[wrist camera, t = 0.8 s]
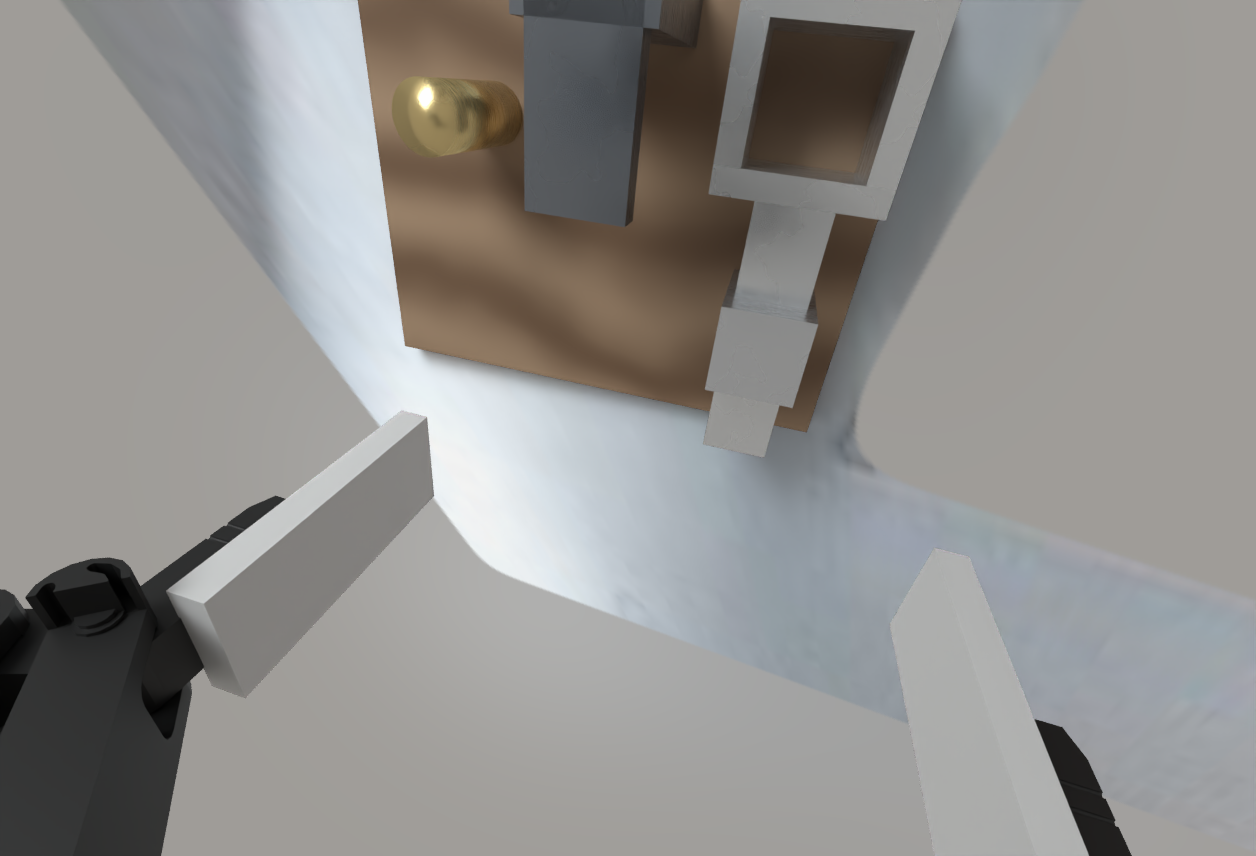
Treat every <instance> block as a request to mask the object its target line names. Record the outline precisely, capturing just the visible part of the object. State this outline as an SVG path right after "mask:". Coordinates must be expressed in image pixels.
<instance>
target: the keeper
mask: <svg viewBox="0 0 1256 856" xmlns="http://www.w3.org/2000/svg"><path fill="white" fill-rule="evenodd" d="M702 5H703V0H509V14H511V15H515V16H518V17H522V18H524V204H525V211H529V212H535V213H541V214H547V215H553V216H559V217H565V218H572V219H578V220H584V221H590V222H596V223H602V224H608V225H614V226H620V227H626V226H627V225H628V224H630V223H631V222H632V221H633V213H634V203H635V193H636V183H637V172H638V162H639V152H640V142H641V132H642V122H643V112H644V102H645V92H646V82H647V72H648V62H649V52H650V44H658V45H668V46H677V47H686V48H697V41H698V34H699V27H700V19H701V12H702Z"/></svg>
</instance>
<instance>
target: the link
mask: <svg viewBox="0 0 1256 856" xmlns="http://www.w3.org/2000/svg"><path fill="white" fill-rule="evenodd" d="M961 1H962V0H741V3H740V9H739V15H738V20H737V26H736V32H735V38H734V44H733V50H732V56H731V62H730V68H729V74H728V80H727V86H726V92H725V98H724V104H723V110H722V116H721V122H720V128H719V134H718V139H717V145H716V151H715V157H714V163H713V169H712V175H711V181H710V187H709V193H708V194H711V195H717V196H724V197H731V198H737V199H744V200H751V201H755V202H754V207H753V211H752V216H751V221H750V226H749V230H748V235H747V240H746V244H745V249H744V254H743V258H742V263H741V268H740V270H736V269H734V271H733V274H732V277H731V280H730V283H729V286H728V289H727V292H726V295H725V298H724V301H723V304H722V307H721V312H720V317H719V322H718V327H717V332H716V337H715V342H714V346H713V351H712V356H711V361H710V366H709V371H708V376H707V381H706V386H705V390H709V391H714V394H713V399H712V404H711V408H710V413H709V418H708V423H707V427H706V432H705V437H704V441H703V444H705V445H709V446H714V447H718V448H722V449H727V450H731V451H736V452H740V453H745V454H749V455H754V456H758V457H762V458H764V456H765V453H766V450H767V446H768V443H769V439H770V436H771V433H772V429H773V426H774V422H775V419H776V415H777V412H778V409H779V405H781V406H785V407H790V408H793V405H794V402H795V398H796V395H797V392H798V389H799V385H800V382H801V379H802V376H803V372H804V369H805V366H806V363H807V360H808V356H809V353H810V350H811V347H812V343H813V340H814V337H815V334H816V330H817V327H818V317H817V309H816V300H815V292H814V286H815V283H816V279H817V276H818V272H819V269H820V266H821V262H822V259H823V255H824V252H825V249H826V245H827V242H828V238H829V235H830V232H831V228H832V225H833V221H834V218H835V214H836V213H837V214H844V215H850V216H857V217H864V218H870V219H877V220H884V221H886V219H887V216H888V213H889V210H890V207H891V205H892V202H893V199H894V196H895V193H896V190H897V187H898V184H899V181H900V178H901V175H902V173H903V170H904V167H905V164H906V161H907V158H908V155H909V152H910V149H911V146H912V143H913V141H914V138H915V135H916V132H917V129H918V126H919V123H920V120H921V117H922V114H923V111H924V109H925V106H926V103H927V100H928V97H929V94H930V91H931V88H932V85H933V82H934V80H935V77H936V74H937V71H938V68H939V65H940V62H941V59H942V56H943V53H944V50H945V48H946V45H947V42H948V39H949V36H950V33H951V30H952V27H953V24H954V21H955V18H956V16H957V13H958V10H959V7H960V4H961ZM774 30H778V31H788V32H798V33H809V34H819V35H829V36H839V37H849V38H859V39H869V40H879V41H889V42H894V45H893V48H892V51H891V55H890V58H889V61H888V65H887V68H886V71H885V75H884V78H883V81H882V85H881V88H880V91H879V95H878V98H877V101H876V105H875V108H874V111H873V115H872V118H871V121H870V125H869V128H868V131H867V135H866V138H865V141H864V145H863V148H862V151H861V155H860V158H859V161H858V165H857V168H856V171H855V173H852V172H845V171H837V170H830V169H823V168H816V167H808V166H801V165H794V164H787V163H780V162H772V161H765V160H758V159H751V158H748V157H749V151H750V146H751V141H752V136H753V131H754V126H755V121H756V116H757V111H758V106H759V101H760V96H761V91H762V86H763V81H764V76H765V71H766V66H767V61H768V56H769V51H770V46H771V41H772V36H773V31H774Z"/></svg>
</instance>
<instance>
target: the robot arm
mask: <svg viewBox="0 0 1256 856" xmlns="http://www.w3.org/2000/svg"><path fill="white" fill-rule="evenodd" d="M433 496H434V490H433V479H432V468H431V457H430V445H429V434H428V423H427V417H424V416H421V415H417V414H413V413H409V412H405V411H401V412H399V413H398V414H397V415H395V416H394V417H393V418H391V419H390V420H389V421H387V422H386V423H385V424H384V425H382V426H381V427H380V428H378V429H377V430H376V431H374V432H373V433H372V434H370V435H369V436H368V437H367V438H365V439H364V440H363V441H361V442H360V443H359V444H357V445H356V446H355V447H353V448H352V449H351V450H350V451H348V452H347V453H346V454H344V455H343V456H342V457H340V458H339V459H338V460H336V461H335V462H334V463H333V464H331V465H330V466H329V467H327V468H326V469H325V470H323V471H322V472H321V473H319V474H318V475H317V476H315V477H314V478H313V479H312V480H310V481H309V482H308V483H306V484H305V485H304V486H302V487H301V488H300V489H298V490H297V491H296V492H295V493H293V494H292V495H291V496H289V497H288V498H287V499H284V498H281V497H278V496H274V497H272V498H270V499H267V500H265V501H263V502H260V503H258V504H256V505H253V506H251V507H249V508H248V509H246V510H245V511H243V512H242V513H241V514H240V515H238V516H236V517H235V518H234V519H232V520H231V521H230V522H228V525H227V526H223V527H221V528H220V529H219V530H217V531H216V532H214V533H213V534H212V535H211V536H210V538H209V539H205V540H204V541H202V542H201V543H199V544H198V545H197V546H195V547H194V548H193V549H191V550H190V551H188V552H187V553H186V554H184V555H183V556H182V557H180V558H179V559H178V560H176V561H175V562H173V563H172V564H170V565H169V566H168V567H166V568H165V569H164V570H162V571H161V572H159V573H158V574H157V575H155V576H154V577H153V578H151V579H150V580H149V581H147V582H146V583H144V584H143V585H142V586H140V585H139V583H138V581H137V579H136V577H135V576H134V574H133V572H132V570H131V568H130V567H129V566H128V565H127V564H126V563H125V562H124V561H123V560H118V559H114V558H98V559H90V560H86V561H83V562H79V563H75V564H72V565H69V566H67V567H65V568H63V569H61V570H58V571H56V572H54V573H52V574H50V575H49V576H48V577H46V578H45V579H43V580H42V581H40V582H39V583H38V584H36V585H35V586H34V587H33V589H32V590H31V591H30V592H29V593H28V595H27V596H26V599H27V601H28V602H29V604H30V605H31V607H32V608H33V609H24V608H23V607H22V605H21V604H20V603H19V601H18V600H17V598H16V597H15V596H14V595H13V594H11V593H10V592H8V591H6V590H1V589H0V856H161V853H162V847H163V842H164V837H165V832H166V826H167V821H168V816H169V811H170V805H171V800H172V795H173V790H174V784H175V779H176V774H177V769H178V764H179V758H180V753H181V748H182V743H183V737H184V731H185V727H186V722H187V717H188V711H189V706H190V701H191V695H192V689H191V683H190V680H191V679H192V678H193V677H194V676H196V675H197V674H198V673H199V672H200V671H201V670H202V669H203V668H204V670H205V672H206V674H207V676H208V678H209V680H210V682H211V684H212V686H214V687H216V688H219V689H222V690H224V691H227V692H230V693H233V694H235V695H238V696H241V697H244V698H246V697H247V696H248V695H249V694H250V693H251V692H252V690H253V689H254V688H255V687H256V686H257V685H258V684H259V683H260V682H261V681H262V680H263V679H264V677H266V676H267V674H268V673H269V672H270V671H271V670H272V669H273V668H274V667H275V666H276V665H277V664H278V663H279V662H280V660H281V659H282V658H283V657H284V656H285V655H286V654H287V653H288V652H289V651H290V650H291V649H292V648H293V647H294V645H295V644H296V643H297V642H298V641H299V640H300V639H301V638H302V637H303V635H305V634H306V633H307V632H308V630H309V629H310V628H311V627H312V626H313V625H314V624H315V623H316V622H317V621H318V620H319V619H320V618H321V617H322V615H323V614H324V613H325V612H326V611H327V610H328V609H329V608H330V607H331V606H332V605H333V604H334V603H335V602H336V600H337V599H338V598H339V597H340V596H341V595H342V594H343V593H344V592H345V591H346V590H347V588H349V586H350V585H351V584H352V583H353V582H354V581H355V580H356V579H357V578H358V577H359V576H360V575H361V574H362V573H363V571H364V570H365V569H366V568H367V567H368V566H369V565H370V564H371V563H372V562H373V561H374V560H375V559H376V557H377V556H378V555H379V554H380V553H381V552H382V551H383V550H384V549H385V548H386V547H387V546H388V545H389V544H390V542H391V541H392V540H393V539H394V538H395V537H396V536H397V535H398V534H399V533H400V532H401V531H402V530H403V529H404V528H405V526H406V525H407V524H408V523H409V522H410V521H411V520H412V519H413V518H414V517H415V516H416V515H417V514H418V512H419V511H420V510H421V509H422V508H423V507H424V506H425V505H426V504H427V503H428V502H429V500H431V499H432V497H433ZM890 629H891V634H892V639H893V644H894V650H895V655H896V660H897V665H898V670H899V676H900V681H901V686H902V691H903V696H904V701H905V707H906V712H907V717H908V722H909V727H910V733H911V737H912V742H913V748H914V753H915V758H916V763H917V769H918V774H919V779H920V784H921V789H922V795H923V799H924V805H925V810H926V815H927V820H928V826H929V831H930V836H931V841H932V847H933V851H934V856H1132V855H1131V853H1130V851H1129V849H1128V847H1127V845H1126V842H1125V840H1124V838H1123V836H1122V834H1121V831H1120V829H1119V827H1116V826H1115V823H1114V821H1115V819H1114V816H1113V814H1112V812H1111V810H1110V807H1109V805H1108V803H1107V801H1106V799H1104V798H1102V790H1101V788H1100V786H1099V784H1098V781H1097V779H1096V777H1095V775H1094V773H1093V770H1092V768H1091V766H1090V764H1089V762H1088V760H1087V758H1086V757H1085V756H1084V754H1083V753H1082V752H1081V751H1080V749H1079V748H1078V747H1077V745H1076V744H1075V743H1074V742H1073V740H1072V739H1071V738H1070V737H1069V735H1068V734H1067V733H1066V732H1065V730H1064V729H1063V728H1062V727H1060V726H1056V725H1053V724H1049V723H1046V722H1043V721H1039V720H1036V719H1034V717H1033V715H1032V712H1031V710H1030V707H1029V705H1028V702H1027V700H1026V697H1025V695H1024V693H1023V690H1022V688H1021V685H1020V683H1019V680H1018V678H1017V675H1016V673H1015V670H1014V668H1013V665H1012V663H1011V660H1010V658H1009V655H1008V653H1007V650H1006V648H1005V645H1004V643H1003V640H1002V638H1001V635H1000V633H999V630H998V628H997V625H996V623H995V620H994V618H993V615H992V613H991V610H990V608H989V605H988V603H987V600H986V598H985V595H984V593H983V590H982V588H981V585H980V583H979V580H978V578H977V575H976V573H975V570H974V568H973V565H972V563H971V560H970V558H969V556H965V555H961V554H957V553H953V552H949V551H945V550H941V549H937V548H934V549H933V551H932V552H931V554H930V556H929V558H928V559H927V561H926V563H925V564H924V566H923V568H922V570H921V571H920V573H919V575H918V576H917V578H916V580H915V582H914V583H913V585H912V587H911V588H910V590H909V592H908V593H907V595H906V597H905V599H904V600H903V602H902V604H901V605H900V607H899V609H898V611H897V612H896V614H895V616H894V617H893V619H892V621H891V623H890Z"/></svg>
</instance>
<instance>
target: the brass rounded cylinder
mask: <svg viewBox="0 0 1256 856" xmlns="http://www.w3.org/2000/svg"><path fill="white" fill-rule="evenodd" d="M392 116H393V121H394V125H395V127H396V130H397V132H398V134H399V136H400V138H401V139H402V140H403V142H404V143H405V144H406V145H407V146H408V147H409V148H410V149H411V150H412V151H414V152H415V153H417V154H418V155H421V156H424V157H430V158H432V157H439V156H445V155H451V154H457V153H463V152H469V151H475V150H481V149H487V148H493V147H499V146H505V145H508V144H510V143H511V142H513V141H514V140H515V139H516V138H517V136H518V135H519V133H520V130H521V127H522V120H523V116H522V109H521V105H520V102H519V100H518V98H517V96H516V95H515V93H514V92H513V91H512V90H511V89H510V88H509V87H508V86H507V85H505V84H503V83H501V82H499V81H489V80H472V79H454V78H437V77H419V76H414V77H410V78H407V79H405V80H404V81H402V82H401V83H400V84H399V85H398V87H397V88H396V90H395V93H394V95H393V99H392Z"/></svg>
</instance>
